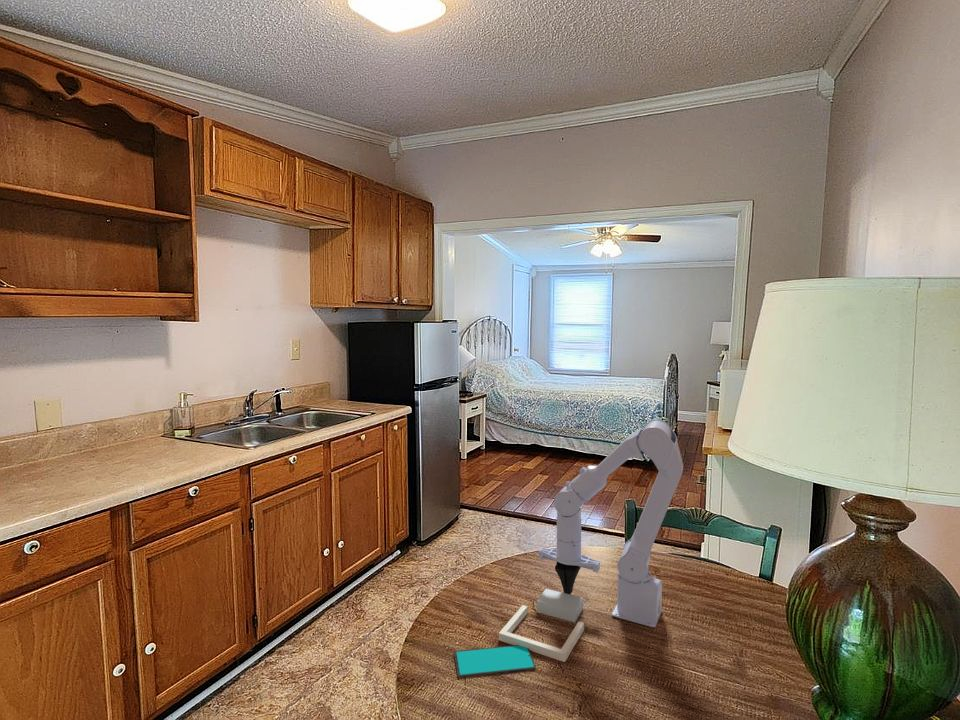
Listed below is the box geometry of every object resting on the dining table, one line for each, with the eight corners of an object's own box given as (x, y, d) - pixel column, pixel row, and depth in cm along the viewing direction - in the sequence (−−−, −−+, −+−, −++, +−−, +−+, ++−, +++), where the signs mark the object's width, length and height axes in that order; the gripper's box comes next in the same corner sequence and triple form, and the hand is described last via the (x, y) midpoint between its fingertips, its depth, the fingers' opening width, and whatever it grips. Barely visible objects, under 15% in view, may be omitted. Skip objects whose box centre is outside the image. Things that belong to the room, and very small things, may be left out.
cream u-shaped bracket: (584, 629, 114) (584, 622, 113) (564, 662, 103) (564, 654, 103) (522, 611, 121) (522, 604, 120) (498, 640, 110) (498, 632, 110)
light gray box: (582, 610, 122) (583, 597, 121) (575, 623, 116) (575, 611, 116) (545, 600, 126) (545, 588, 126) (536, 613, 120) (536, 600, 120)
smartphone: (453, 651, 106) (527, 644, 108) (453, 655, 106) (527, 647, 108) (457, 676, 99) (536, 667, 101) (457, 680, 99) (536, 672, 101)
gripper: (604, 537, 124) (603, 593, 126) (546, 525, 132) (546, 578, 133) (595, 549, 118) (594, 607, 120) (535, 536, 125) (534, 591, 127)
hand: (568, 593), depth 126 cm, fingers closed
